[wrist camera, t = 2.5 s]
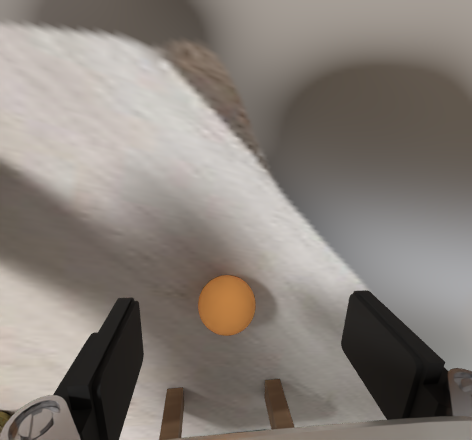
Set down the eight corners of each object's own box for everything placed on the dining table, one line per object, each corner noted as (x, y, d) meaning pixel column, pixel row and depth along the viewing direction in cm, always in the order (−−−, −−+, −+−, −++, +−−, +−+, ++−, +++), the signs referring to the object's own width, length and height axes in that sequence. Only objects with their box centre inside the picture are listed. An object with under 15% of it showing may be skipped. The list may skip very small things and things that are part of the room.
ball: (198, 266, 28) (196, 297, 23) (251, 264, 29) (262, 294, 23) (199, 311, 30) (198, 351, 24) (249, 309, 31) (259, 347, 25)
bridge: (167, 388, 33) (151, 484, 24) (279, 378, 35) (306, 465, 25) (168, 405, 34) (154, 504, 25) (278, 395, 35) (303, 484, 26)
